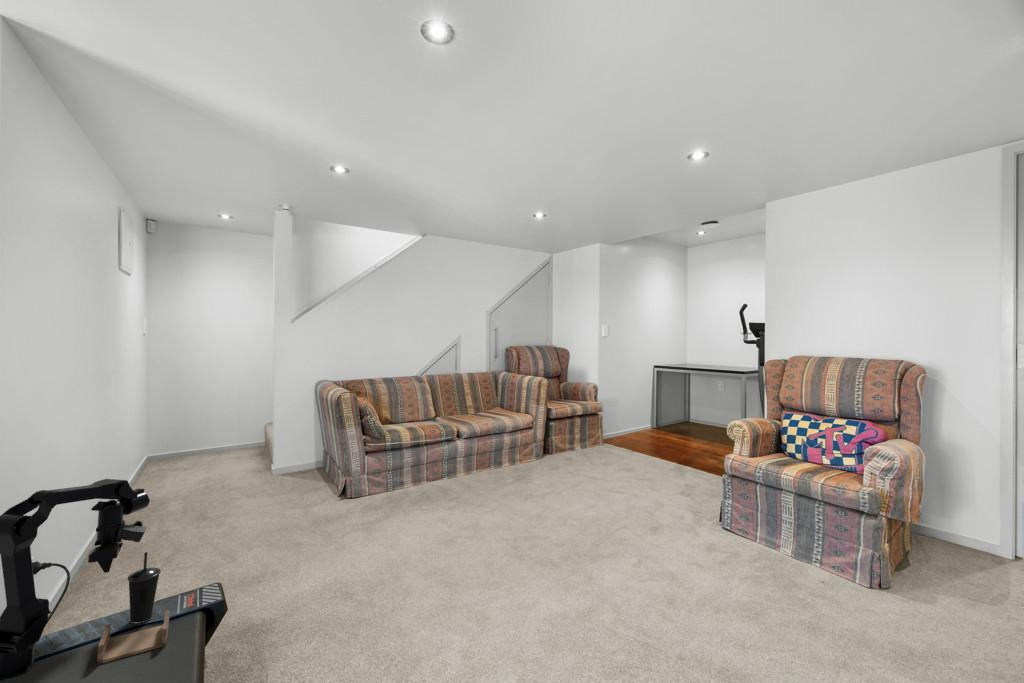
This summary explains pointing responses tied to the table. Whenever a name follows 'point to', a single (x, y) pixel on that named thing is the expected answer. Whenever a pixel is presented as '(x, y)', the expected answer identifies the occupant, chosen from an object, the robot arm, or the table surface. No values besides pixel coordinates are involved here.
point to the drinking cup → (142, 592)
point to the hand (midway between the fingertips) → (106, 572)
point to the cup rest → (132, 642)
